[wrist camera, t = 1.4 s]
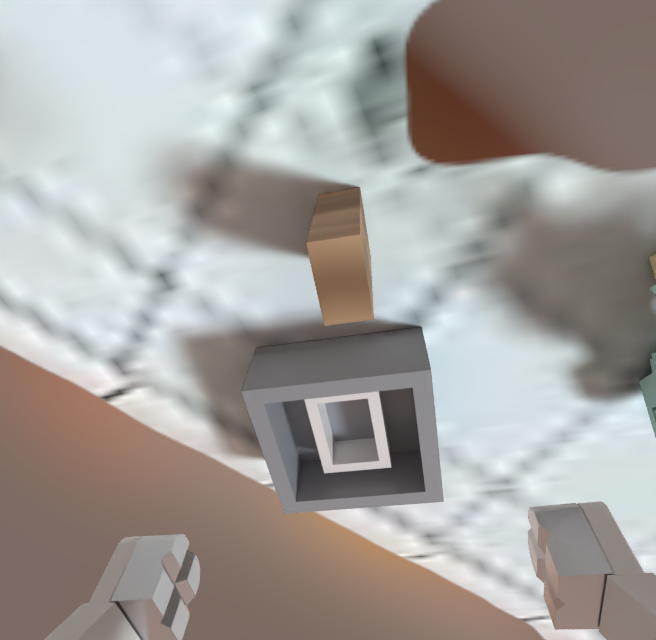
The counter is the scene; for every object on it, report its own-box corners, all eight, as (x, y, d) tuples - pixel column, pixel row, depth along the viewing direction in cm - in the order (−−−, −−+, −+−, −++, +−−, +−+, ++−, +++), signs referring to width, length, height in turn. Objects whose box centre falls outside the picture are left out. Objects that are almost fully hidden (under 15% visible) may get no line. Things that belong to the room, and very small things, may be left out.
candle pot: (255, 347, 34) (241, 391, 30) (421, 326, 33) (430, 369, 28) (292, 463, 40) (284, 513, 36) (434, 450, 39) (443, 501, 34)
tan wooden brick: (319, 194, 28) (305, 242, 22) (360, 187, 28) (360, 234, 21) (332, 262, 31) (324, 326, 24) (370, 256, 30) (373, 319, 23)
